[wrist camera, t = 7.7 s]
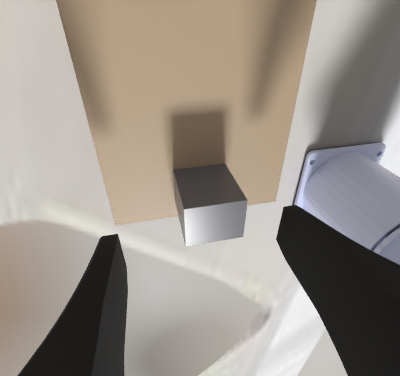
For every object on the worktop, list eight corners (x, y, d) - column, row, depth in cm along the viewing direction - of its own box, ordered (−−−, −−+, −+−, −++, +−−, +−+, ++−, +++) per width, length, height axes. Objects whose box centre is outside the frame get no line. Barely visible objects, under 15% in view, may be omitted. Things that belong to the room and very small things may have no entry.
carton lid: (271, 195, 18) (303, 238, 15) (115, 219, 16) (112, 273, 13) (330, -115, 10) (433, -174, 6) (23, -140, 8) (-51, -242, 5)
